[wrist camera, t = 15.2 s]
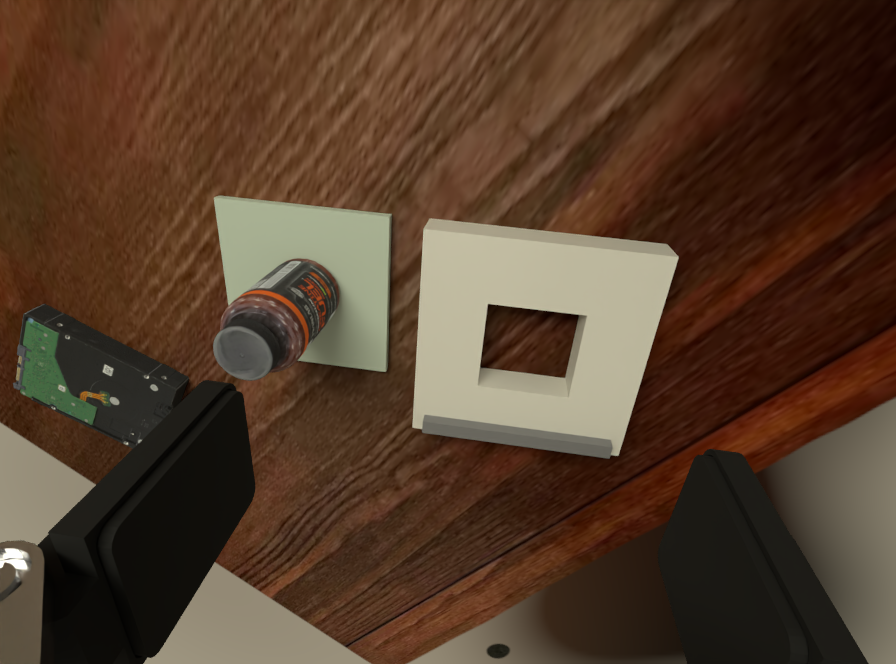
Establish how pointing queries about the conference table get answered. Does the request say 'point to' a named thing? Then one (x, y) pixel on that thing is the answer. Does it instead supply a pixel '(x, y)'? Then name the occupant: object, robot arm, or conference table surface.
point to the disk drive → (94, 377)
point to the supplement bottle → (276, 319)
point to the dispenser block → (541, 288)
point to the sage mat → (331, 245)
